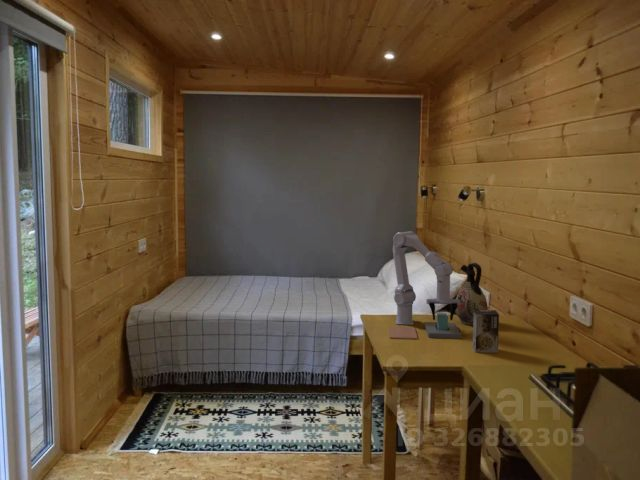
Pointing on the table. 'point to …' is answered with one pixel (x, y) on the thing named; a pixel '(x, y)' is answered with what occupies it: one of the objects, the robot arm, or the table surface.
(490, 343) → the coffee box
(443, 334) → the pocket board
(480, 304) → the ceramic jug
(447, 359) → the table surface
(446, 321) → the teal block
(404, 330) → the terracotta tile
